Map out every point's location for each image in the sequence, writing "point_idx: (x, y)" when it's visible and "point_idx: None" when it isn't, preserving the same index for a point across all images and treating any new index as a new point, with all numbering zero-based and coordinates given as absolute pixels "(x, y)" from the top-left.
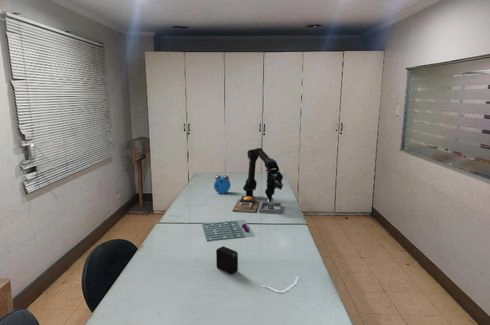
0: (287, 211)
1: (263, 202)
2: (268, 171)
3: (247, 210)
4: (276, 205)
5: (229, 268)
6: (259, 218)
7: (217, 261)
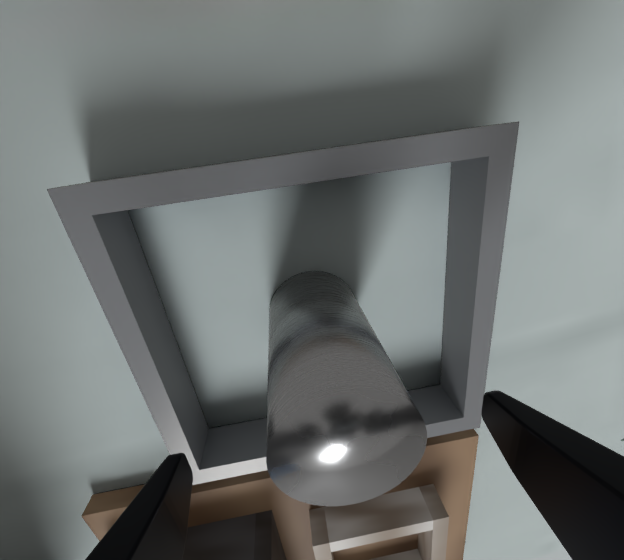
0: (340, 4)
1: (196, 459)
2: None
3: (463, 492)
4: (144, 271)
5: None
6: (620, 340)
7: None
